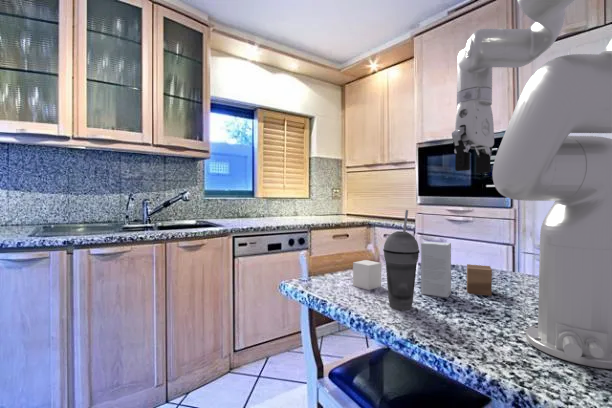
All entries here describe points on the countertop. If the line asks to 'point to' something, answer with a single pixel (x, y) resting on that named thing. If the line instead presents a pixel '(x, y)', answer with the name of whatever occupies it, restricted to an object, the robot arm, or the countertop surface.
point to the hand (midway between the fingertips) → (473, 171)
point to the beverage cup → (401, 267)
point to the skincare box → (436, 269)
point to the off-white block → (367, 274)
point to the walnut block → (479, 279)
